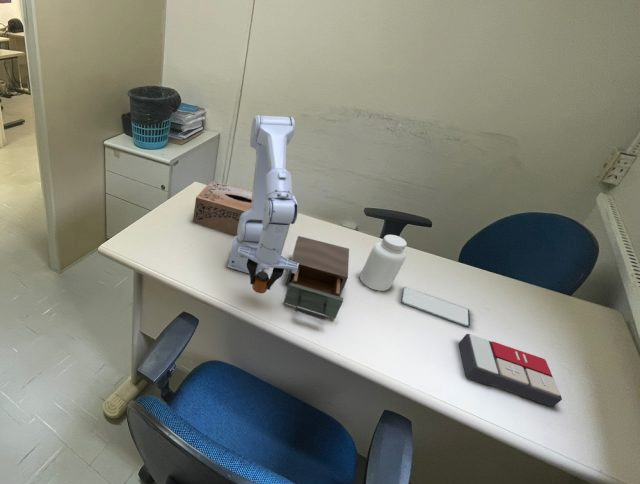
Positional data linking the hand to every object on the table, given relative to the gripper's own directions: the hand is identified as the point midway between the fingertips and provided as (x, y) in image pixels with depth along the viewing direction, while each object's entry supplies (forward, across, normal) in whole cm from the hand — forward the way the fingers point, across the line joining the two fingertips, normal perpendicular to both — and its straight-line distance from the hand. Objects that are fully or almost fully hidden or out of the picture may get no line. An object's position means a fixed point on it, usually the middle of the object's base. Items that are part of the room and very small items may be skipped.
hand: (260, 284), depth 103 cm
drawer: (+5, +13, +5) cm, 15 cm away
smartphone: (+6, +43, +19) cm, 47 cm away
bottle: (+1, 0, 0) cm, 1 cm away
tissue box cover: (+6, -14, +35) cm, 38 cm away
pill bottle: (+6, +29, +23) cm, 37 cm away
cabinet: (+6, +13, +17) cm, 22 cm away
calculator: (+6, +54, +2) cm, 54 cm away
